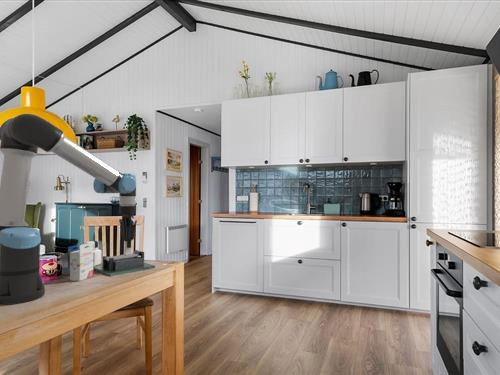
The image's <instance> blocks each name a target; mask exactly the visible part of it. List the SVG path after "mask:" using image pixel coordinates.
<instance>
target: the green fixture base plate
mask: <svg viewBox="0 0 500 375" xmlns="http://www.w3.org/2000/svg"><path fill="white" fill-rule="evenodd" d="M134 251H139V250H137V249H135V250H134ZM134 251H133V252H134ZM105 257H108V256H107V255H105V256H102V265H99V266H98V265H96V266H93V271H94V272H97V273H100V274H104V275H107V276H108V277H114V276H119V275H124V274H130V273H136V272H141V270H142V271H147V270H152V268H153V269H155V268H156V265H154V264H150V263H147V262H145V251H141V256H135V257H129V258H123V259H117V260H114V258H109V261H107V260H105V259H104V258H105ZM146 269H147V270H146Z"/></svg>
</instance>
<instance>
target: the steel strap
mask: <svg viewBox="0 0 500 375" xmlns="http://www.w3.org/2000/svg"><path fill="white" fill-rule="evenodd" d="M141 252H142V250H141V251H140V250H138V251H133V253H132V252H131V254H129V255H124V254H119V255H112V256H107V257H105V258H104V259H105V260H107V261H109V258H114V260H117V259H123V258H129V257H135V256H138V257H141Z"/></svg>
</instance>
